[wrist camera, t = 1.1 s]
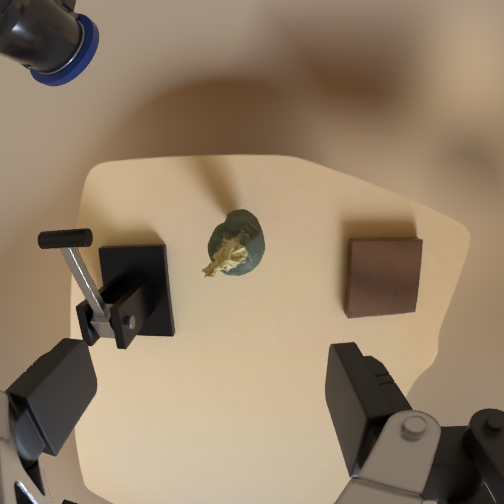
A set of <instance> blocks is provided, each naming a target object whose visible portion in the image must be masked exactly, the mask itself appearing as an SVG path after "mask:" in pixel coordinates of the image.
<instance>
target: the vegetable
mask: <svg viewBox="0 0 504 504" xmlns="http://www.w3.org/2000/svg"><path fill="white" fill-rule="evenodd" d="M264 251H265V242H264V236H263V231H262V229H261V226H260V224H259V222H258V220H257V218H256V217H255V216H254V215H253V214H252V213H250V212H249V211H247V210H244V209H241V210H235V211H233V212H231V213H229V214H228V215H227V218H226V221H225V222H224V223H222V224H220V225H218V226H217V227H216V228H215V230H214V232H213V234H212V236H211V238H210V240H209V243H208V253H209V256H210V259H211V261H212V263H210V264H209V265H208V266H207V267H206V268H205V269H202V272H205V273H206V275H205V277H206V276H211V277H214V276H215V273H216V271H218V270H220V271H221V272H223V273H225V274H226V275H236V276H240V275H243V274H246V273H248V272H250V271H252V270H253V269H254V268H256V267H257V265H258V264H259V263H260V261H261V259H262V257H263V254H264Z"/></svg>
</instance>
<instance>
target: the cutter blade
mask: <svg viewBox="0 0 504 504" xmlns="http://www.w3.org/2000/svg"><path fill="white" fill-rule="evenodd" d="M92 241H93V235H92V231H91V230H90V229H89V228H86V229H73V230H58V231H46V232H41V233H40V234H39V236H38V245H39V246H40V248H42V249H49V248H60V250H61V252H62V254H63V256H64V258H65V260H66V262H67V264H68V266H69V268H70V270H71V272H72V274H73V276H74V278H75V279H76V281H77V283H78V285H79V287H80V289H81V290H82V292H83V294H84V296H85V297H86V299H87V301H88V303H89V304H90V306H91V308H92V310H93V311H94V312H93V315H92V318H91V321H90V322H91V324H92V325H93V327H94V328H95V330H96V331H97V333H98V334H99V336H100V337H105V338H115V335H114V330H113V325H112V320H111V314H110V309H109V308H110V307H111V306H112V305H113V304H105V303H104V301H103V299H102V297H101V295H100V293H99V291H98V290H97V288H96V286H95V284H94V282H93V280H92V278H91V276H90V274H89V272H88V270H87V268H86V265H85V263H84V261H83V259H82V257H81V255H80V253H79V251H78V248H77V247H89V246H91V244H92Z"/></svg>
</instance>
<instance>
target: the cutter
mask: <svg viewBox="0 0 504 504" xmlns="http://www.w3.org/2000/svg"><path fill="white" fill-rule="evenodd" d="M99 257H100V265H101V272H102V279H103V287H101V288H100V289H99V290H98V291H99V293H100V295H101V297H102V299H103V301H104V303H105V304H113V305H112V306H111V307H110V308H109V309H110V314H111V320H112V325H113V330H114V335H115V340H116V344H117V348H118V349H127V347H128V346H129V344H130V343H131V342H132V340H133V339H134V337H135V336H136V335H143V336H174V334H175V328H174V320H173V312H172V304H171V295H170V286H169V276H168V265H167V254H166V244H160V245H133V246H107V247H101V248H99ZM76 311H77V316H78V320H79V325H80V329H81V333H82V337H83V340H84V341H85V342H86V343H87V345H88V346H93V345H94V344H95V342H96V341H97V340H98V339H99V338H100V336H99V334H98V333H97V331H96V330H95V328H94V327H93V325H92V324H91V322H90V321H91V318H92V315H93V312H94V311H93V310H92V308H91V306H90V304H89V303H88V301H87V299H85V300H84V301H83V302H81V303H80V304H79V305H77V306H76Z"/></svg>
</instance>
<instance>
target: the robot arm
mask: <svg viewBox="0 0 504 504" xmlns="http://www.w3.org/2000/svg"><path fill="white" fill-rule="evenodd" d="M75 3H76V0H0V55H1V56H4V57H7V58H9V59H11V60H13V61H16V62H18V63H20V64H21V65H23V66H24V67H26V66H27V67H26V68H27V69H29V68H28V67H30V68H32V69H34V70H36V71H38V72H39V73H41V74H44V75H53V74H56V73H59V72H61V71H62V70H64V69H65V68H67V67H68V66H69V65H70V64H71V63H72V62H73V61H74V60H75V59H76V57H77V56H78V54H79V53H80V51H81V49H82V47H83V45H84V41H85V36H86V32H85V28H84V26H83V24H82V23H81V22H80V17H79V16H78V15H77V14H76V13H75V12H74V7H75ZM30 70H31V69H30ZM96 391H97V378H96V374H95V371H94V367H93V364H92V360H91V356H90V352H89V349H88V345H87V343H86V342H85V341H84V340H78V339H69V338H64V339H62V340H61V341H60V342H59V343H58V344H57V345H56V346H55V347H54V348H53V349H52V350H51V351H50V352H48V353H46V354H44V355H42V356H41V357H39V358H38V359H37V360H36V361H35V362H34V363H33V366H32V365H31V366H30V367H29V368H28V369H27V371H26V372H24V373H23V374H22V375H21V376H20V377H19V378H18V379H17V380H16V381H15V382H14V383H13V384H12V385H11V386H10V387H9V388H8V389H7V390H6V391H5V392H3V391H1V390H0V504H53V502H52V499H51V495H50V492H49V488H48V484H47V480H46V476H45V471H44V467H43V463H42V460H41V459H40V457H39V455H40V454H41V452H44V453H46V454H49V455H53V456H57V454H58V452H59V451H60V449H61V448H62V446H63V444H64V442H65V441H66V440H67V438H68V436H69V435H70V433H71V431H72V430H73V428H74V427H75V425H76V424H77V422H78V421H79V419H80V417H81V416H82V414H83V413H84V411H85V410H86V408H87V407H88V405H89V404H90V402H91V400H92V399H93V397H94V396H95V394H96ZM325 397H326V402H327V406H328V409H329V412H330V415H331V418H332V421H333V425H334V428H335V431H336V434H337V437H338V441H339V444H340V447H341V450H342V453H343V457H344V460H345V463H346V467H347V470H348V473H349V476H350V477H352V478H351V480H350V481H349V482H348V484H347V485H346V487H345V488H344V490H343V491H342V493H341V494H340V496H339V497H338V499H337V500H336V502H335V503H334V504H423V501H436V502H437V504H504V412H503V411H501V410H497V409H483V410H480V411H478V412H476V413H475V414H474V415H473V416H472V418H471V420H470V422H469V424H468V426H452V427H442V426H440V425H439V423H438V421H437V420H436V419H435V418H434V417H432V416H431V415H429V414H427V413H424V412H421V411H416V410H413V409H412V408H411V406H410V404H409V403H408V401H407V400H406V398H405V397H404V395H403V394H402V392H401V391H400V389H399V387H398V386H397V384H396V383H394V380H393V378H392V377H391V375H389V372H388V371H387V369H386V368H385V366H384V365H383V363H381V362H380V361H378V360H377V359H375V358H374V357H372V356H363V355H362V353H361V351H360V350H359V348H358V347H357V345H356V343H355V342H349V343H337V344H331V345H330V348H329V355H328V365H327V374H326V382H325ZM485 482H486V484H487V486H488V488H489V490H490V491H491V493H492V495H493V497H494V499H495V501H496V503H495V501H494V499H493V498H492V496H491V494H490V492H489V490H488V488H487V486H486V485H485ZM62 504H77V503H73V502H71V501H68V500H64V501H63V503H62Z"/></svg>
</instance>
